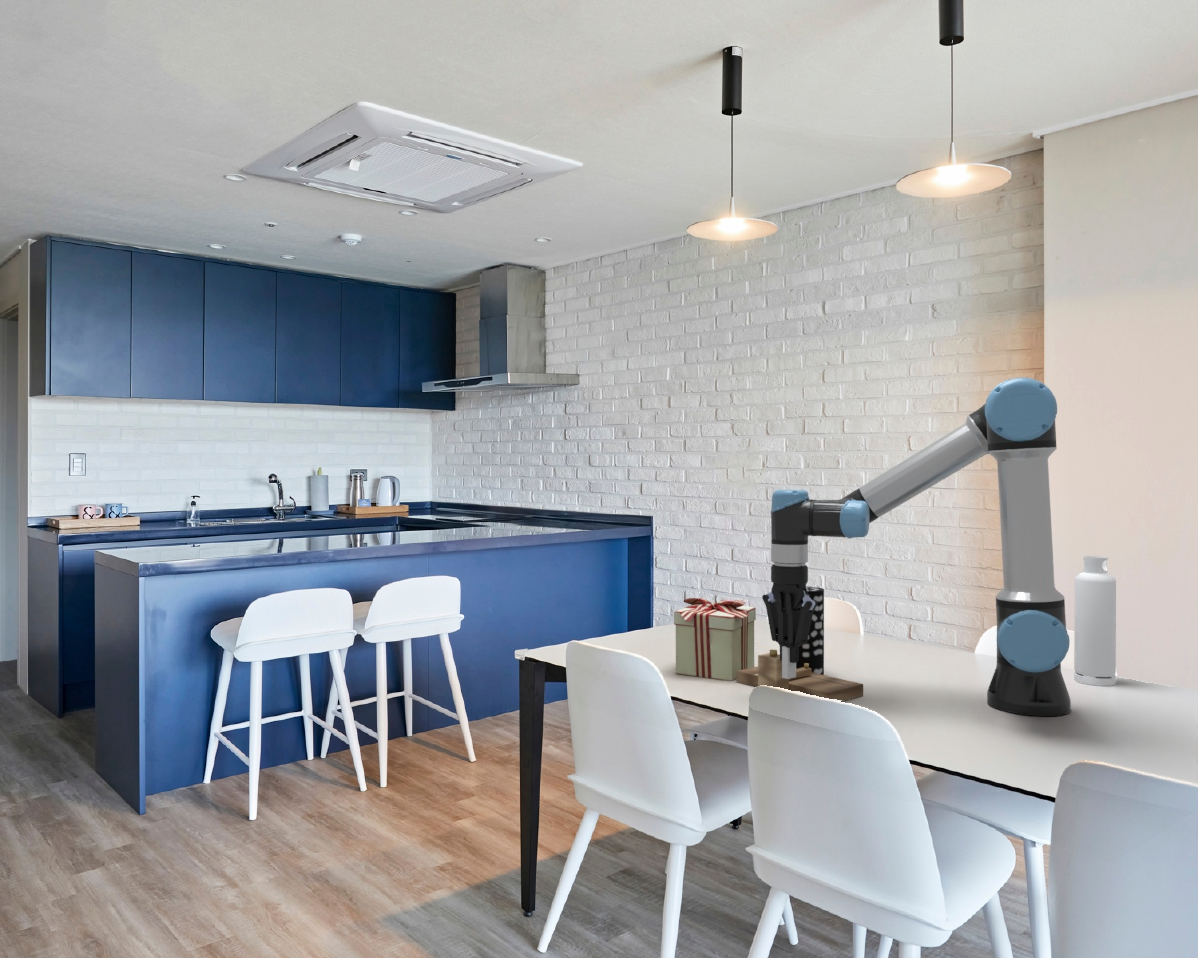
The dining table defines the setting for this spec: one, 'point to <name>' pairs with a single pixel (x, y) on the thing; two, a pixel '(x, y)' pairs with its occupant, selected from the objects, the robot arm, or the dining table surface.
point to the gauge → (776, 671)
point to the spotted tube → (814, 636)
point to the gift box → (714, 638)
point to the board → (811, 685)
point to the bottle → (1095, 624)
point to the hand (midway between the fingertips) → (789, 677)
